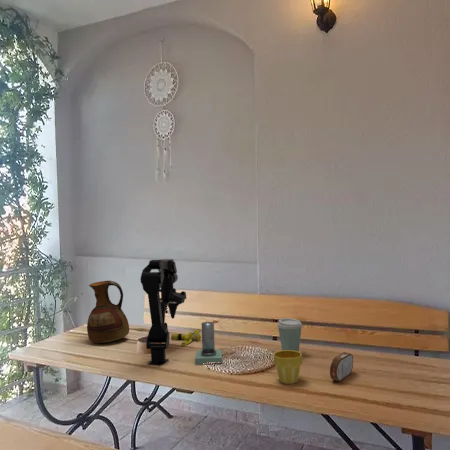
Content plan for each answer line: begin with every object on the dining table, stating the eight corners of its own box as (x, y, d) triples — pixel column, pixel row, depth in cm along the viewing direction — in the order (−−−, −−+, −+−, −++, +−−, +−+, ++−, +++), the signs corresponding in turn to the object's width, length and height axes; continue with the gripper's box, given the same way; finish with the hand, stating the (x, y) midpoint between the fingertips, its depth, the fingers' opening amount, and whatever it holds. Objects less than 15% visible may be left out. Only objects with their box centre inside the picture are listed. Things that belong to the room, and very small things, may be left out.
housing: (212, 357, 182) (211, 325, 182) (198, 355, 185) (197, 324, 184) (218, 352, 188) (217, 321, 188) (204, 351, 191) (203, 321, 190)
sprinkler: (176, 326, 228) (204, 326, 224) (177, 334, 228) (205, 334, 224) (162, 342, 209) (193, 342, 205) (163, 350, 209) (194, 350, 206)
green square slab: (222, 363, 181) (221, 357, 181) (195, 364, 181) (194, 358, 181) (222, 355, 192) (221, 349, 192) (196, 356, 192) (196, 350, 192)
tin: (347, 371, 169) (346, 348, 169) (355, 372, 167) (354, 350, 167) (329, 383, 158) (328, 359, 157) (337, 385, 156) (336, 361, 155)
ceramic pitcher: (87, 337, 227) (85, 279, 226) (127, 333, 233) (125, 276, 232) (87, 348, 208) (85, 284, 208) (131, 343, 214) (129, 281, 214)
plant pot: (268, 378, 164) (268, 351, 164) (293, 374, 167) (293, 348, 167) (282, 388, 154) (281, 359, 154) (308, 383, 158) (307, 355, 158)
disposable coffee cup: (306, 352, 193) (305, 318, 192) (299, 360, 183) (298, 324, 182) (282, 350, 197) (281, 316, 197) (274, 357, 187) (273, 322, 187)
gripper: (173, 290, 192) (174, 326, 192) (191, 284, 209) (192, 317, 209) (150, 289, 196) (151, 325, 196) (170, 283, 213) (171, 315, 213)
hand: (168, 320), depth 203 cm, fingers open, 9 cm apart
